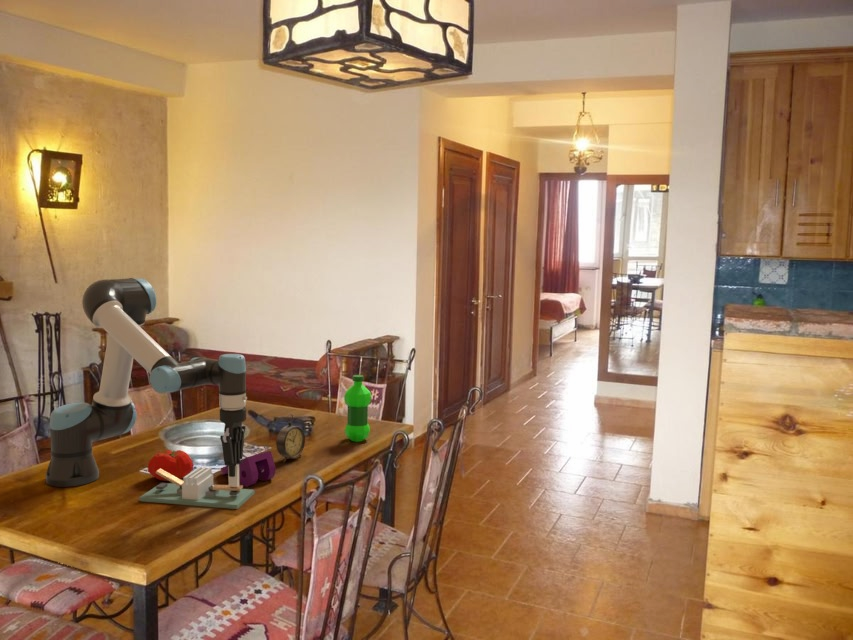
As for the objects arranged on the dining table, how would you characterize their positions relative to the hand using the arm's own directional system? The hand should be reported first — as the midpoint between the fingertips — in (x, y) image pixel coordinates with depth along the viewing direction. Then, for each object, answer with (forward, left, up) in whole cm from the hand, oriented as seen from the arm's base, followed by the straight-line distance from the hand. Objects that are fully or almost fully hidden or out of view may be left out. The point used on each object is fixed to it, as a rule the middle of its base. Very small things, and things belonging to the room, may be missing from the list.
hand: (234, 486), depth 217 cm
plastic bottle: (+20, +71, -5) cm, 74 cm away
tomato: (-27, +15, -5) cm, 31 cm away
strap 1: (-20, 0, 0) cm, 20 cm away
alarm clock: (+3, +42, -5) cm, 42 cm away
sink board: (-11, 0, -4) cm, 12 cm away
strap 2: (-3, 0, -1) cm, 3 cm away
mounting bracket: (-5, +19, -5) cm, 21 cm away
